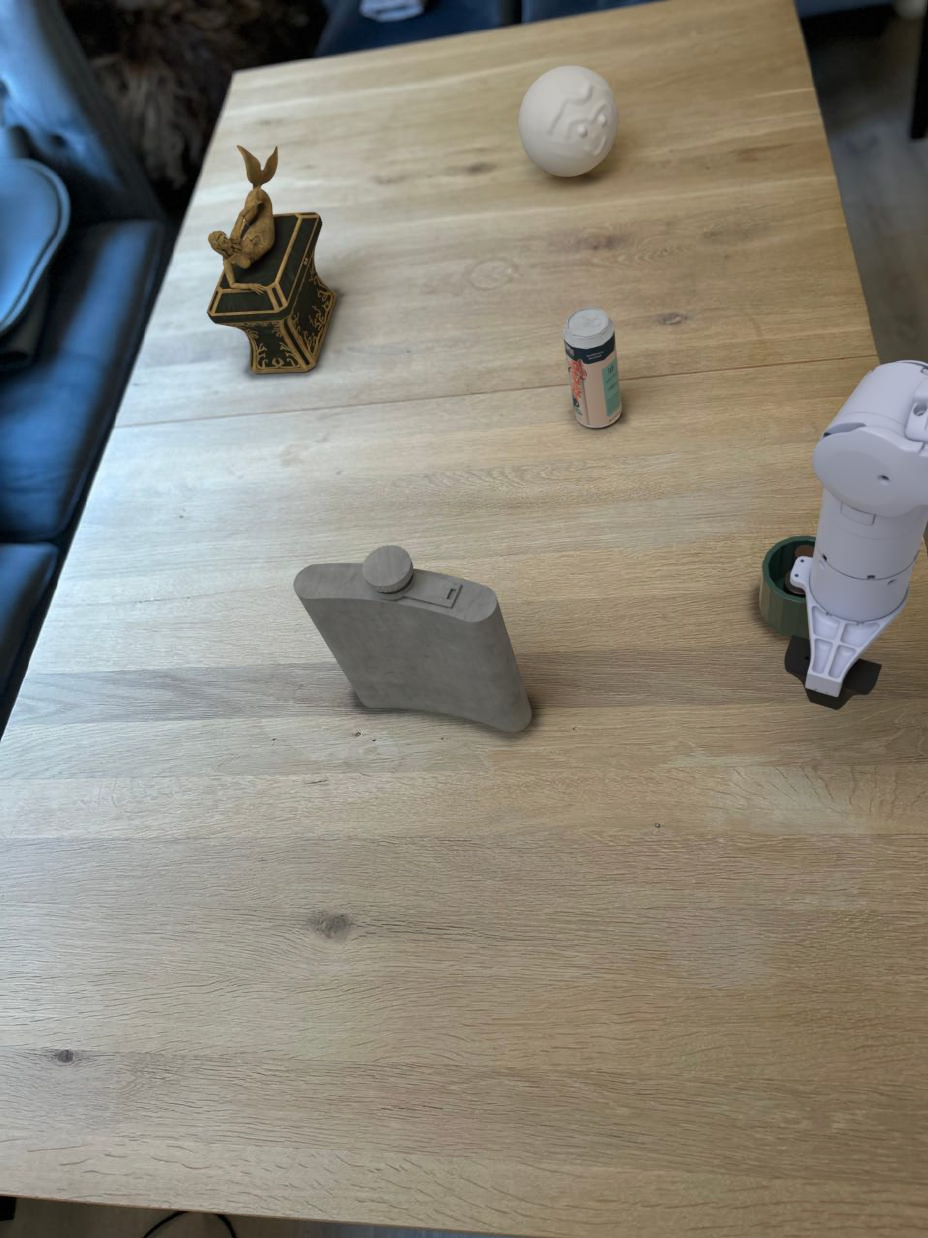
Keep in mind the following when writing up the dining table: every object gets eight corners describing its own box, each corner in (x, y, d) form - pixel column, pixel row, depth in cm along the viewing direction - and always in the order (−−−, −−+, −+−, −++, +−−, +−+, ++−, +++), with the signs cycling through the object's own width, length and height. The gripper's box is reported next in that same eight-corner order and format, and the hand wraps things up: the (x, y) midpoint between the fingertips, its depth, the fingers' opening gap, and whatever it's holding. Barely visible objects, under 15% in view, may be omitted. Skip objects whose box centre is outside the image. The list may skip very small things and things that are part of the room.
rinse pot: (850, 585, 85) (858, 547, 80) (827, 648, 82) (835, 612, 77) (772, 565, 87) (776, 527, 83) (748, 625, 84) (751, 589, 80)
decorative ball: (559, 210, 120) (547, 116, 110) (508, 168, 127) (492, 76, 117) (641, 165, 122) (636, 69, 112) (586, 126, 128) (576, 32, 118)
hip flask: (354, 705, 88) (274, 576, 72) (369, 666, 90) (295, 531, 73) (526, 736, 83) (483, 605, 67) (538, 693, 85) (499, 556, 68)
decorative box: (318, 382, 112) (253, 233, 96) (240, 385, 114) (164, 240, 98) (355, 265, 122) (302, 112, 106) (283, 270, 125) (220, 121, 108)
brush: (820, 592, 84) (828, 543, 78) (810, 619, 83) (818, 570, 77) (787, 583, 85) (793, 534, 79) (777, 609, 84) (782, 561, 78)
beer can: (577, 397, 103) (563, 305, 93) (623, 395, 102) (615, 302, 92) (573, 432, 100) (559, 341, 90) (621, 430, 99) (612, 338, 89)
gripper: (832, 438, 63) (813, 562, 74) (761, 619, 57) (751, 725, 68) (951, 462, 60) (912, 587, 72) (888, 655, 54) (857, 759, 66)
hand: (840, 656), depth 70 cm, fingers open, 7 cm apart
